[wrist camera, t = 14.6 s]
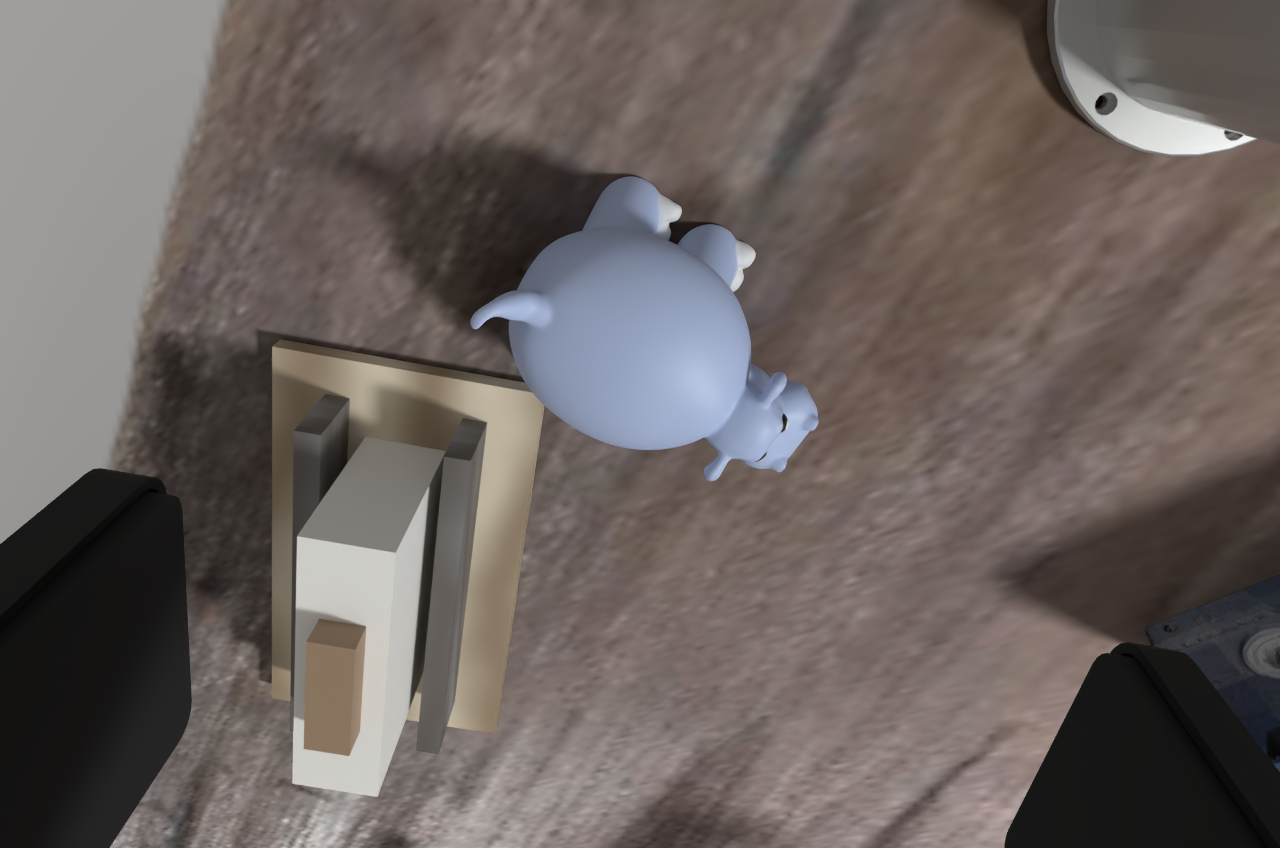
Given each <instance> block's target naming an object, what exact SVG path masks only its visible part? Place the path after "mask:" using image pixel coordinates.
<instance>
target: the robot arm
mask: <svg viewBox="0 0 1280 848" xmlns="http://www.w3.org/2000/svg"><path fill="white" fill-rule="evenodd" d="M1047 37H1048V44H1049V50H1050V56H1051V62H1052V65H1053V68H1054V70H1055V73H1056V75H1057V78H1058V81H1059V83H1060V86H1061V89H1062V90H1063V92H1064V93H1065V95H1066V96H1067V98H1068V99H1069V101H1070V102H1071V104H1072V105H1073V107H1074V108H1075V110H1076V111H1077V113H1079V114H1080V115H1081V116H1082V117H1083V118H1084V119H1085V120H1086V121H1087V122H1088V123H1089V124H1090V125H1091V126H1092V127H1093V128H1094V129H1095V130H1097V131H1099V132H1100V133H1102V134H1104V135H1105V136H1107V137H1109V138H1111V139H1112V140H1114V141H1116V142H1118V143H1119V144H1122V145H1125V146H1128V147H1131V148H1134V149H1136V150H1139V151H1142V152H1147V153H1152V154H1157V155H1163V156H1168V157H1183V156H1202V155H1208V154H1213V153H1218V152H1223V151H1228V150H1231V149H1234V148H1236V147H1239V146H1242V145H1244V144H1247V143H1250V142H1252V141H1255V140H1258V139H1260V140H1264V141H1268V142H1272V143H1276V144H1280V0H1048V5H1047ZM1099 96H1102V98H1103V101H1102V104H1101V105H1100V106H1099V107H1097V108H1095V102H1096V100H1097V99H1098V97H1099ZM1225 130H1226V131H1225ZM191 702H192V698H191V677H190V657H189V637H188V617H187V597H186V576H185V556H184V536H183V516H182V506H181V503H180V500H179V498H177V497H175V496H172V495H167V493H166V488H165V486H164V484H163V482H162V481H161V480H159V479H158V478H155V477H149V476H143V475H137V474H131V473H125V472H119V471H113V470H108V469H102V468H101V469H93V470H91V471H90V472H88V473H86V474H85V475H84V476H82V477H81V478H80V479H79V480H78V481H76V482H75V483H74V484H73V485H71V486H70V487H69V488H68V489H67V490H66V491H64V492H63V493H62V494H61V495H60V496H58V497H57V498H56V499H55V500H53V501H52V502H51V503H50V504H48V505H47V506H46V507H45V508H44V509H43V510H41V511H40V512H39V513H38V514H36V515H35V516H34V517H33V518H32V519H30V520H29V521H28V522H27V523H25V524H24V525H23V526H22V527H21V528H19V529H18V530H17V531H16V532H15V533H13V534H12V535H11V536H10V537H8V538H7V539H6V540H5V541H4V542H3V543H1V544H0V848H110V846H111V845H112V843H113V842H114V840H115V839H116V837H117V835H118V834H119V832H120V831H121V829H122V828H123V826H124V825H125V823H126V822H127V820H128V819H129V817H130V816H131V814H132V813H133V811H134V810H135V808H136V807H137V805H138V803H139V802H140V800H141V799H142V797H143V796H144V794H145V793H146V791H147V790H148V788H149V787H150V785H151V784H152V782H153V781H154V779H155V778H156V776H157V775H158V773H159V772H160V770H161V768H162V767H163V765H164V764H165V762H166V761H167V759H168V758H169V756H170V755H171V753H172V752H173V750H174V749H175V747H176V746H177V744H178V743H179V741H180V739H181V737H182V736H183V734H184V731H185V729H186V726H187V723H188V720H189V717H190V712H191ZM1005 848H1280V772H1279V771H1278V769H1277V768H1276V767H1275V765H1274V764H1273V763H1272V761H1271V760H1270V759H1269V758H1268V756H1267V755H1266V754H1265V752H1264V751H1263V750H1262V749H1261V747H1260V746H1259V745H1258V743H1257V742H1256V741H1255V739H1254V738H1253V737H1252V736H1251V734H1250V733H1249V732H1248V730H1247V729H1246V728H1245V726H1244V725H1243V724H1242V723H1241V721H1240V720H1239V719H1238V717H1237V716H1236V715H1235V713H1234V712H1233V711H1232V710H1231V708H1230V707H1229V706H1228V704H1227V703H1226V702H1225V700H1224V699H1223V698H1222V697H1221V695H1220V694H1219V693H1218V691H1217V690H1216V689H1215V688H1214V686H1213V685H1212V684H1211V682H1210V681H1209V680H1208V678H1207V677H1206V676H1205V675H1204V673H1203V672H1202V671H1201V669H1200V668H1199V667H1198V665H1197V664H1196V663H1195V662H1194V660H1192V659H1191V658H1190V657H1189V656H1188V655H1187V654H1186V653H1183V652H1180V651H1177V650H1171V649H1165V648H1159V647H1153V646H1147V645H1141V644H1135V643H1129V642H1127V643H1121V644H1119V645H1118V646H1116V647H1115V648H1114V649H1113V650H1112V651H1111V653H1110V654H1109V653H1106V654H1101V655H1100V656H1099V657H1097V658H1096V660H1095V661H1094V663H1093V664H1092V666H1091V668H1090V670H1089V672H1088V674H1087V676H1086V678H1085V680H1084V682H1083V684H1082V686H1081V688H1080V690H1079V692H1078V694H1077V696H1076V698H1075V700H1074V702H1073V704H1072V706H1071V708H1070V709H1069V711H1068V713H1067V715H1066V717H1065V719H1064V721H1063V723H1062V725H1061V727H1060V729H1059V731H1058V733H1057V735H1056V737H1055V739H1054V741H1053V743H1052V745H1051V747H1050V749H1049V751H1048V753H1047V755H1046V757H1045V759H1044V761H1043V763H1042V765H1041V767H1040V769H1039V771H1038V773H1037V774H1036V776H1035V778H1034V780H1033V782H1032V784H1031V786H1030V788H1029V790H1028V792H1027V794H1026V796H1025V798H1024V800H1023V802H1022V804H1021V806H1020V808H1019V810H1018V812H1017V814H1016V816H1015V818H1014V820H1013V822H1012V824H1011V826H1010V828H1009V830H1008V832H1007V835H1006V840H1005Z"/></svg>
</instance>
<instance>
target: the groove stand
mask: <svg viewBox="0 0 1280 848" xmlns="http://www.w3.org/2000/svg"><path fill="white" fill-rule="evenodd" d="M543 412H544V404H543V403H542V402H541V401H540V400H539V399H538V398H537V397H536V396H535V395H534V394H533V393H532V391H531V390H530V389H529V387H528V386H527V384H526V383H525V382H519V381H513V380H508V379H502V378H496V377H491V376H485V375H479V374H474V373H468V372H463V371H457V370H451V369H446V368H440V367H434V366H429V365H423V364H417V363H412V362H406V361H400V360H395V359H389V358H384V357H378V356H372V355H367V354H361V353H355V352H350V351H344V350H338V349H333V348H327V347H322V346H316V345H310V344H305V343H299V342H293V341H288V340H282V339H280V340H279V341H278V342H277V343H276V344H275V345H273V346H272V698H273V699H280V700H286V701H290V731H293V729H294V675H295V621H296V567H297V536H298V534H299V533H300V531H301V530H302V528H303V527H304V525H305V524H306V523H307V521H308V520H309V518H310V517H311V515H312V514H313V512H314V511H315V509H316V508H317V507H318V505H319V504H320V502H321V501H322V499H323V498H324V496H325V495H326V493H327V492H328V491H329V489H330V488H331V486H332V485H333V483H334V482H335V480H336V479H337V477H338V476H339V475H340V473H341V472H342V470H343V469H344V467H345V466H346V464H347V463H348V461H349V460H350V459H351V457H352V456H353V454H354V453H355V451H356V450H357V448H358V447H359V445H360V444H361V443H362V441H363V440H364V438H365V437H369V438H375V439H381V440H386V441H392V442H398V443H403V444H409V445H415V446H421V447H426V448H432V449H438V450H443V451H446V454H445V456H444V463H443V473H442V484H441V494H440V505H439V515H438V526H437V536H436V547H435V557H434V568H433V578H432V589H431V599H430V610H429V620H428V631H427V641H426V652H425V662H424V671H423V674H422V677H421V679H420V682H419V685H418V687H417V690H416V693H415V696H414V698H413V701H412V704H411V706H410V709H409V712H408V715H407V717H406V720H411V721H418V722H419V725H418V736H417V746H416V751H421V752H428V753H434V754H439V751H440V748H441V744H442V741H443V738H444V735H445V731H446V728H447V726H449V727H455V728H462V729H468V730H474V731H481V732H487V733H493V734H495V733H496V729H497V725H498V720H499V713H500V706H501V699H502V693H503V686H504V679H505V672H506V665H507V658H508V651H509V645H510V638H511V631H512V624H513V617H514V610H515V604H516V597H517V590H518V583H519V576H520V569H521V562H522V556H523V549H524V542H525V535H526V528H527V521H528V515H529V508H530V501H531V494H532V487H533V480H534V474H535V467H536V460H537V453H538V446H539V439H540V432H541V426H542V419H543Z"/></svg>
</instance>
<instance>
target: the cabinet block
mask: <svg viewBox="0 0 1280 848" xmlns="http://www.w3.org/2000/svg"><path fill="white" fill-rule="evenodd" d="M445 454H446V451H443V450H438V449H432V448H426V447H421V446H415V445H409V444H403V443H398V442H392V441H386V440H381V439H375V438H369V437H365V438H364V440H363V441H362V443H361V444H360V445H359V447H358V448H357V450H356V451H355V453H354V454H353V456H352V457H351V459H350V460H349V461H348V463H347V464H346V466H345V467H344V469H343V470H342V472H341V473H340V475H339V476H338V477H337V479H336V480H335V482H334V483H333V485H332V486H331V488H330V489H329V491H328V492H327V493H326V495H325V496H324V498H323V499H322V501H321V502H320V504H319V505H318V507H317V508H316V509H315V511H314V512H313V514H312V515H311V517H310V518H309V520H308V521H307V523H306V524H305V525H304V527H303V528H302V530H301V531H300V533H299V534H298V536H297V567H296V621H295V675H294V729H293V782H292V784H298V785H305V786H311V787H318V788H324V789H330V790H337V791H343V792H349V793H356V794H362V795H369V796H375V797H377V796H378V794H379V791H380V788H381V785H382V783H383V780H384V777H385V775H386V772H387V769H388V766H389V764H390V761H391V758H392V755H393V753H394V750H395V747H396V745H397V742H398V739H399V736H400V734H401V731H402V728H403V726H404V723H405V720H406V717H407V715H408V712H409V709H410V706H411V704H412V701H413V698H414V696H415V693H416V690H417V687H418V685H419V682H420V679H421V677H422V674H423V671H424V662H425V652H426V641H427V631H428V620H429V610H430V599H431V589H432V578H433V568H434V557H435V547H436V536H437V526H438V515H439V505H440V494H441V484H442V473H443V463H444V456H445Z"/></svg>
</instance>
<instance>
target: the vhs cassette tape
mask: <svg viewBox="0 0 1280 848" xmlns="http://www.w3.org/2000/svg"><path fill="white" fill-rule="evenodd" d="M1146 634H1147V636H1148V638H1149V641H1150V644H1151V646H1153V647H1159V648H1165V649H1171V650H1177V651H1180V652H1183V653H1186V654H1187V655H1188V656H1189V657H1190V658H1191V659H1192V660H1194V662H1195V663H1196V664H1197V665H1198V667H1199V668H1200V669H1201V671H1202V672H1203V673H1204V675H1205V676H1206V677H1207V678H1208V680H1209V681H1210V682H1211V684H1212V685H1213V686H1214V688H1215V689H1216V690H1217V691H1218V693H1219V694H1220V695H1221V697H1222V698H1223V699H1224V700H1225V702H1226V703H1227V704H1228V706H1229V707H1230V708H1231V710H1232V711H1233V712H1234V713H1235V715H1236V716H1237V717H1238V719H1239V720H1240V721H1241V723H1242V724H1243V725H1244V726H1245V728H1246V729H1247V730H1248V732H1249V733H1250V734H1251V736H1252V737H1253V738H1254V739H1255V741H1256V742H1257V743H1258V745H1259V746H1260V747H1261V749H1262V750H1263V751H1264V752H1265V754H1266V755H1267V756H1268V758H1269V759H1270V760H1271V761H1272V763H1273V764H1274V765H1275V767H1276V768H1277V769H1278V771H1279V772H1280V575H1278V576H1275V577H1273V578H1270V579H1267V580H1265V581H1262V582H1260V583H1257V584H1255V585H1252V586H1250V587H1247V588H1244V589H1242V590H1239V591H1237V592H1234V593H1232V594H1229V595H1227V596H1224V597H1222V598H1219V599H1217V600H1214V601H1211V602H1209V603H1207V604H1204V605H1202V606H1199V607H1197V608H1194V609H1191V610H1189V611H1186V612H1184V613H1181V614H1179V615H1176V616H1174V617H1172V618H1169V619H1166V620H1164V621H1161V622H1159V623H1156V624H1154V625H1151V626H1149V627H1147V628H1146Z"/></svg>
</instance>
